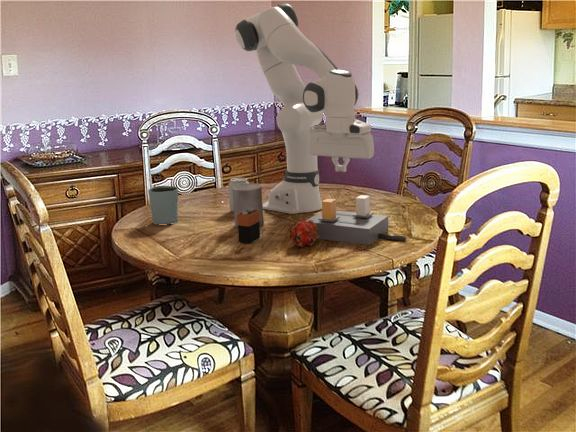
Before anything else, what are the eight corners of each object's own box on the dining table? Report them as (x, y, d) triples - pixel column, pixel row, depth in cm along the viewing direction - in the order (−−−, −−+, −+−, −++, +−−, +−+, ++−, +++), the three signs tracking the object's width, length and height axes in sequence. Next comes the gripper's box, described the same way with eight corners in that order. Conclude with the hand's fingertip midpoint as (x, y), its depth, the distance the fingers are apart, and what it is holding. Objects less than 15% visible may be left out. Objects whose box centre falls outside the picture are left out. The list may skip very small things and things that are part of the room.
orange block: (318, 220, 200) (318, 201, 198) (325, 216, 204) (325, 197, 202) (333, 221, 197) (332, 202, 196) (339, 217, 201) (339, 199, 200)
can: (242, 214, 231) (240, 181, 228) (226, 212, 235) (224, 180, 232) (254, 209, 237) (252, 177, 234) (238, 207, 241) (236, 176, 238)
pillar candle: (250, 220, 223) (247, 178, 219) (269, 225, 216) (267, 181, 212) (229, 226, 216) (225, 183, 212) (248, 231, 210) (245, 187, 206)
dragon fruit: (315, 244, 199) (299, 261, 190) (294, 227, 200) (277, 243, 191) (329, 225, 195) (313, 242, 185) (307, 208, 196) (290, 224, 186)
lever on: (352, 216, 202) (352, 197, 201) (358, 212, 207) (358, 194, 205) (367, 218, 200) (367, 199, 199) (373, 214, 204) (373, 195, 203)
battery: (260, 238, 202) (259, 207, 199) (249, 244, 196) (248, 212, 194) (249, 236, 204) (247, 206, 201) (237, 242, 198) (236, 211, 196)
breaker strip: (304, 236, 202) (303, 221, 201) (326, 223, 215) (325, 209, 214) (397, 248, 187) (397, 231, 186) (414, 233, 201) (414, 218, 199)
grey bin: (145, 222, 224) (142, 189, 221) (168, 216, 232) (166, 184, 228) (163, 227, 218) (160, 193, 215) (186, 221, 225) (183, 187, 222)
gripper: (304, 125, 193) (305, 170, 197) (368, 128, 184) (368, 175, 187) (314, 123, 199) (314, 167, 202) (376, 125, 189) (375, 171, 193)
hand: (340, 171), depth 195 cm, fingers closed
